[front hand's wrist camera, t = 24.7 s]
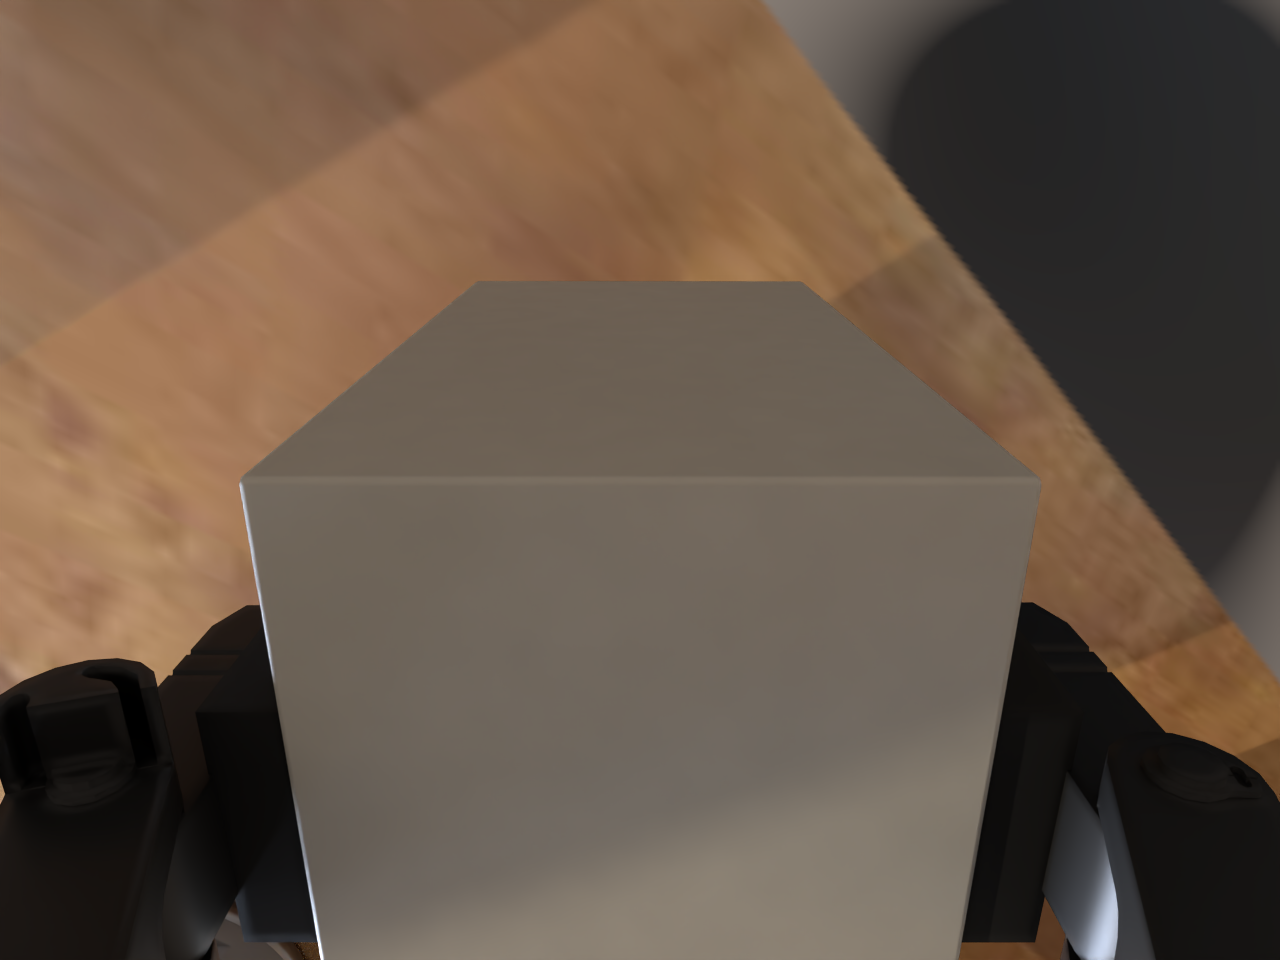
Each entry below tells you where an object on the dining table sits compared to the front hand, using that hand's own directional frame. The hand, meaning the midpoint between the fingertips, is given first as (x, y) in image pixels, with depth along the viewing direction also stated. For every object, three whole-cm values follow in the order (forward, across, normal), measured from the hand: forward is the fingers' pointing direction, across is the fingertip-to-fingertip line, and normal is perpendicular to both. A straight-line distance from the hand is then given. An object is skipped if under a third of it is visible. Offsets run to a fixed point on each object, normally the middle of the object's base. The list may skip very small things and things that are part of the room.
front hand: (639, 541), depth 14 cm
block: (+4, 0, 0) cm, 4 cm away
